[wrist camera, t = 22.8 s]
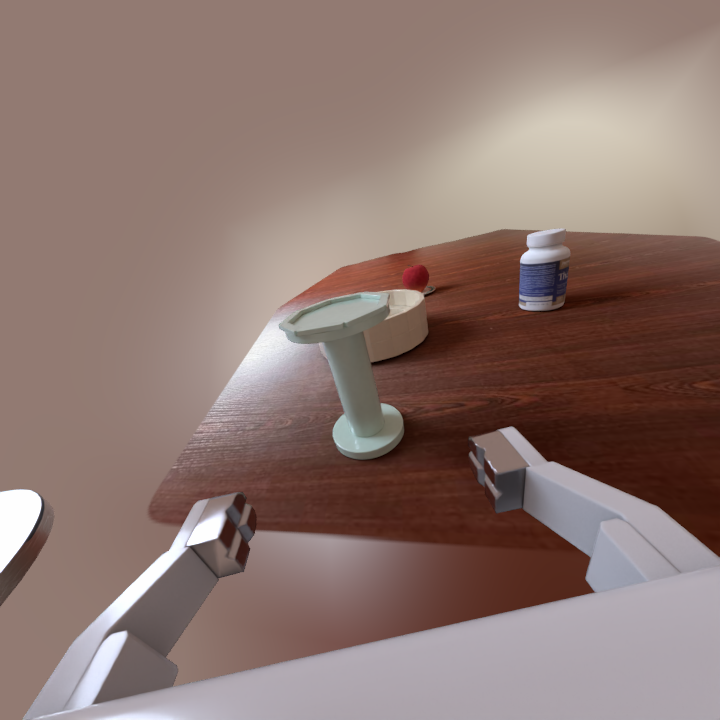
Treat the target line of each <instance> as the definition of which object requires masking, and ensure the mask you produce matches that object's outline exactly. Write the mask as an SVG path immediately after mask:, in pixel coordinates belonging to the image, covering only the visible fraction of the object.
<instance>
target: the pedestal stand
mask: <svg viewBox="0 0 720 720" xmlns="http://www.w3.org/2000/svg"><path fill="white" fill-rule="evenodd" d="M389 299H390V295H389V294H388V293H378V292H360V293H355V294H350V295H345V296H340V297H335V298H330V299H327V300H324V301H321V302H319V303H316V304H313V305H311V306H308V307H305V308H303V309H300V310H297V311H296V312H294V313H292V314H291V315H290V316H289V317H287V318H286V319H285V320H284V321H282V322H281V323H280V324H279V328H280V329H281V330H283V331H285V334H286V337H287V338H288V340H290V341H291V342H294V343H300V344H313V343H322V344H323V347H324V350H325V353H326V356H327V360H328V363H329V366H330V369H331V372H332V375H333V378H334V382H335V385H336V388H337V391H338V394H339V397H340V400H341V404H342V407H343V410H344V414H343V415H342V416H341V417H340V418H339V419H338V420H337V422H336V424H335V426H334V428H333V439H334V442H335V445H336V447H337V449H338V450H339V451H340V452H341V453H342V454H344V455H345V456H347V457H350V458H353V459H361V460H364V459H372V458H376V457H379V456H382V455H384V454H386V453H388V452H389V451H391V450H392V449H393V448H395V447H396V446H397V445H398V443H399V442H400V441H401V439H402V437H403V434H404V422H403V418H402V415H401V414H400V412H399V411H398V410H397V409H396V408H394V407H392V406H390V405H387V404H383V403H380V399H379V395H378V391H377V387H376V382H375V378H374V374H373V370H372V366H371V361H370V357H369V353H368V349H367V345H366V340H365V336H364V332H363V331H365V330H367V329H370V328H371V327H373V326H375V325H377V324H379V323H380V322H382V321H383V320H384V319H386V318H387V317H388V315H389V314H390V305H389Z"/></svg>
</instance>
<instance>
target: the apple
mask: <svg viewBox="0 0 720 720" xmlns="http://www.w3.org/2000/svg"><path fill="white" fill-rule="evenodd" d="M408 266H411V265H408ZM428 280H429V274H428V271H427V269H426V268H425V267H424V266H423V265H416V266H412V267H411V268H407V269H406V270H405V271H404V274H403V284H404V286H405V288H406V289H408V290H416V291H419V292H421V293H423V294H424V295H426V294H428V293H431V292H433V291H434V290H435V287H433V286H427V284H428Z"/></svg>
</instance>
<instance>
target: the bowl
mask: <svg viewBox="0 0 720 720" xmlns="http://www.w3.org/2000/svg"><path fill="white" fill-rule="evenodd" d="M378 293H388V294H389V295H390V299H389V305H390V314H389V315H388V317H387V318H386V319H384V320H383V321H382V322H380V323H379V324H377V325H375V326H373V327H371V328H370V329H367V330H365V331H363V332H364V336H365V340H366V345H367V349H368V353H369V357H370V361H371V362H376V361H380V360H384V359H387V358H391V357H395V356H397V355H400V354H402V353H404V352H406V351H409V350H411V349H413V348H414V347H415V346H417V345H418V344H420V343H421V342H422V341H423V340H424V339H425V337H426V336H427V334H428V325H427V316H426V308H425V300H424V294H423V293H421V292H419V291H416V290H408V289H405V290H388V291H380V292H378ZM319 346H320V349H321V353H322V355H323V356H324V357H325V358H326V359H327V356H326V353H325V350H324V347H323V344H322V343H319Z"/></svg>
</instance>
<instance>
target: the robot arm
mask: <svg viewBox="0 0 720 720" xmlns="http://www.w3.org/2000/svg"><path fill="white" fill-rule="evenodd" d="M468 446H469V448H470V450H471V452H470V453H469V463H470V466H471V470H472V472H473V474H474V476H475V478H476V480H477V482H478V483H480V484H481V485H483V486H485V495H486V497H487V499H488V500H489V502H490V504H491V505H492V507H493V509H494V510H495V512H496V513H499V512H504V511H509V510H514V509H519V508H523V510H525V511H526V512H528V513H529V514H530V515H532V516H533V517H535V518H536V519H538V520H539V521H540V522H542V523H543V524H545V525H546V526H547V527H549V528H550V529H552V530H553V531H554V532H556V533H557V534H559V535H560V536H561V537H563V538H564V539H566V540H567V541H569V542H570V543H571V544H573V545H574V546H576V547H577V548H578V549H580V550H581V551H583V552H584V553H585V554H587V555H588V556H590V557H591V559H590V563H589V567H588V570H587V574H586V580H587V582H588V583H589V585H590V586H591V587H592V589H593V590H594V591H595V593H591V594H586V595H583V596H578V597H573V598H569V599H564V600H560V601H555V602H551V603H546V604H542V605H537V606H533V607H528V608H524V609H519V610H515V611H510V612H506V613H501V614H497V615H493V616H488V617H483V618H479V619H474V620H470V621H465V622H461V623H456V624H452V625H448V626H443V627H438V628H434V629H429V630H425V631H421V632H416V633H412V634H407V635H402V636H398V637H394V638H389V639H385V640H381V641H376V642H371V643H367V644H362V645H358V646H353V647H349V648H344V649H340V650H335V651H331V652H326V653H322V654H317V655H313V656H308V657H304V658H300V659H295V660H290V661H286V662H281V663H277V664H273V665H268V666H264V667H259V668H254V669H250V670H246V671H241V672H237V673H232V674H228V675H223V676H219V677H214V678H210V679H205V680H201V681H196V682H192V683H187V684H183V685H179V686H174V687H173V684H174V681H175V679H176V676H177V673H178V668H177V665H175V664H174V663H173V662H171V661H170V660H168V659H167V658H166V656H167V655H168V653H169V652H170V650H171V649H172V647H173V646H174V644H175V643H176V642H177V640H178V638H179V637H180V636H181V634H182V633H183V631H184V630H185V628H186V627H187V626H188V624H189V623H190V621H191V620H192V618H193V617H194V615H195V614H196V612H197V611H198V610H199V608H200V607H201V605H202V604H203V602H204V601H205V599H206V598H207V596H208V595H209V593H210V592H211V591H212V589H213V588H214V586H215V585H216V583H217V582H218V580H219V579H218V578H221V577H225V576H229V575H233V574H236V573H240V572H244V569H245V566H246V562H247V558H248V555H249V551H250V548H249V545H248V542H249V541H250V540H251V538H252V537H253V536H254V533H255V529H256V513H255V510H254V509H253V507H252V506H251V505H249V504H246V503H245V502H246V499H247V498H246V496H245V495H244V493H243V492H237V493H232V494H228V495H223V496H218V497H213V498H210V499H205V500H200V501H198V502H197V503H196V504H194V506H193V507H192V509H191V511H190V513H189V515H188V517H187V519H186V520H185V522H184V524H183V526H182V528H181V530H180V532H179V533H178V535H177V537H176V539H175V541H174V543H173V544H172V546H171V548H170V550H169V551H168V552H164V553H163V554H162V555H161V556H160V557H159V558H158V559H157V560H156V561H155V562H154V563H153V564H152V565H151V566H150V567H149V568H148V569H147V570H146V571H145V572H144V573H143V574H142V575H141V576H140V577H139V578H138V579H137V580H136V581H135V582H133V584H131V585H130V586H129V587H128V588H127V589H126V590H125V591H124V592H123V593H122V594H121V595H120V596H119V597H118V598H117V599H116V600H115V601H114V602H113V603H112V604H111V605H110V606H109V607H108V608H107V609H106V610H105V611H104V612H103V613H102V614H101V615H100V616H99V617H98V618H97V619H96V620H95V621H94V622H93V623H91V624H90V625H89V627H87V628H86V629H85V630H84V631H83V632H82V633H81V634H80V635H79V636H78V637H77V638H76V639H75V640H74V641H73V643H72V645H71V646H70V648H69V649H68V651H67V652H66V654H65V655H64V657H63V658H62V660H61V662H60V663H59V665H58V666H57V667H56V669H55V671H54V672H53V674H52V675H51V677H50V678H49V680H48V681H47V683H46V684H45V686H44V687H43V689H42V690H41V692H40V693H39V695H38V697H37V698H36V700H35V701H34V703H33V704H32V706H31V707H30V709H29V710H28V712H27V713H26V715H25V716H24V718H23V719H22V720H720V558H719V557H718V556H717V555H716V554H715V553H713V552H712V551H711V550H710V549H709V548H707V547H706V546H705V545H704V544H703V543H701V542H700V541H699V540H698V539H697V538H695V537H694V536H693V535H692V534H690V533H689V532H688V531H687V530H686V529H684V528H683V527H682V526H681V525H680V524H678V523H677V522H676V521H675V520H674V519H672V518H671V517H670V516H669V515H668V514H666V513H665V512H664V511H663V510H662V509H660V508H659V507H657V506H655V505H652V504H650V503H648V502H646V501H643V500H641V499H639V498H636V497H634V496H632V495H629V494H627V493H625V492H622V491H620V490H618V489H616V488H613V487H611V486H609V485H606V484H604V483H602V482H599V481H597V480H595V479H592V478H590V477H588V476H586V475H583V474H581V473H579V472H576V471H574V470H572V469H569V468H567V467H565V466H562V465H560V464H558V463H556V462H553V461H552V462H547V461H546V460H545V459H544V457H543V456H542V455H541V454H540V453H539V452H538V451H537V450H536V449H535V448H534V447H533V446H532V445H531V444H530V443H529V442H528V441H527V440H526V439H525V438H524V437H523V436H522V435H521V434H520V433H519V432H518V431H517V430H516V429H515V428H514V427H512V426H511V427H507V428H503V429H499V430H497V431H496V430H495V431H491V432H487V433H483V434H479V435H475V436H471V437H468Z"/></svg>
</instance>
